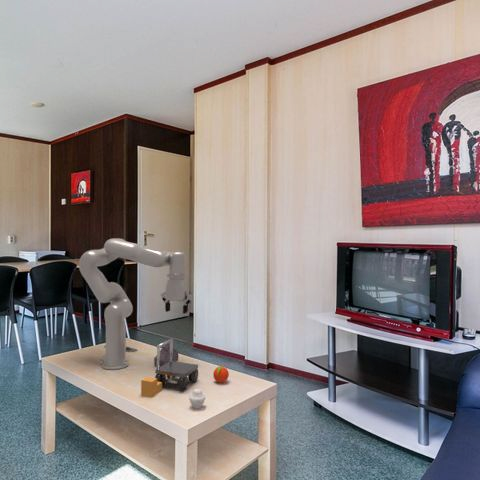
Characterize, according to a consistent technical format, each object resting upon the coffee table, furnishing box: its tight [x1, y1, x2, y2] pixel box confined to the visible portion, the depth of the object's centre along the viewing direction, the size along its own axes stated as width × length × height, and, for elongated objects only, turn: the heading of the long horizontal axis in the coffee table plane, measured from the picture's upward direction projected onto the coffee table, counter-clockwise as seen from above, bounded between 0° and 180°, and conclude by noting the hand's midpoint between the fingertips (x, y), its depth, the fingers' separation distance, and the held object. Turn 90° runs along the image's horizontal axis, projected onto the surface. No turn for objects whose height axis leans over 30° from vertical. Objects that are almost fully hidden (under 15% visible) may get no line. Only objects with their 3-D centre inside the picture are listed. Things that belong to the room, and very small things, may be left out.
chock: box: [140, 376, 163, 398], centre depth 159 cm, size 5×8×6 cm, turn 161°
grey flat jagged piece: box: [104, 345, 138, 353], centre depth 220 cm, size 21×7×2 cm, turn 60°
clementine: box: [213, 366, 230, 383], centre depth 172 cm, size 8×7×7 cm
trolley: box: [154, 338, 199, 392], centre depth 169 cm, size 14×16×18 cm
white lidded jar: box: [188, 388, 206, 410], centre depth 147 cm, size 6×6×7 cm
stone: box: [153, 343, 179, 367], centre depth 196 cm, size 10×6×15 cm
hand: (176, 312), depth 188 cm, fingers open, 9 cm apart
